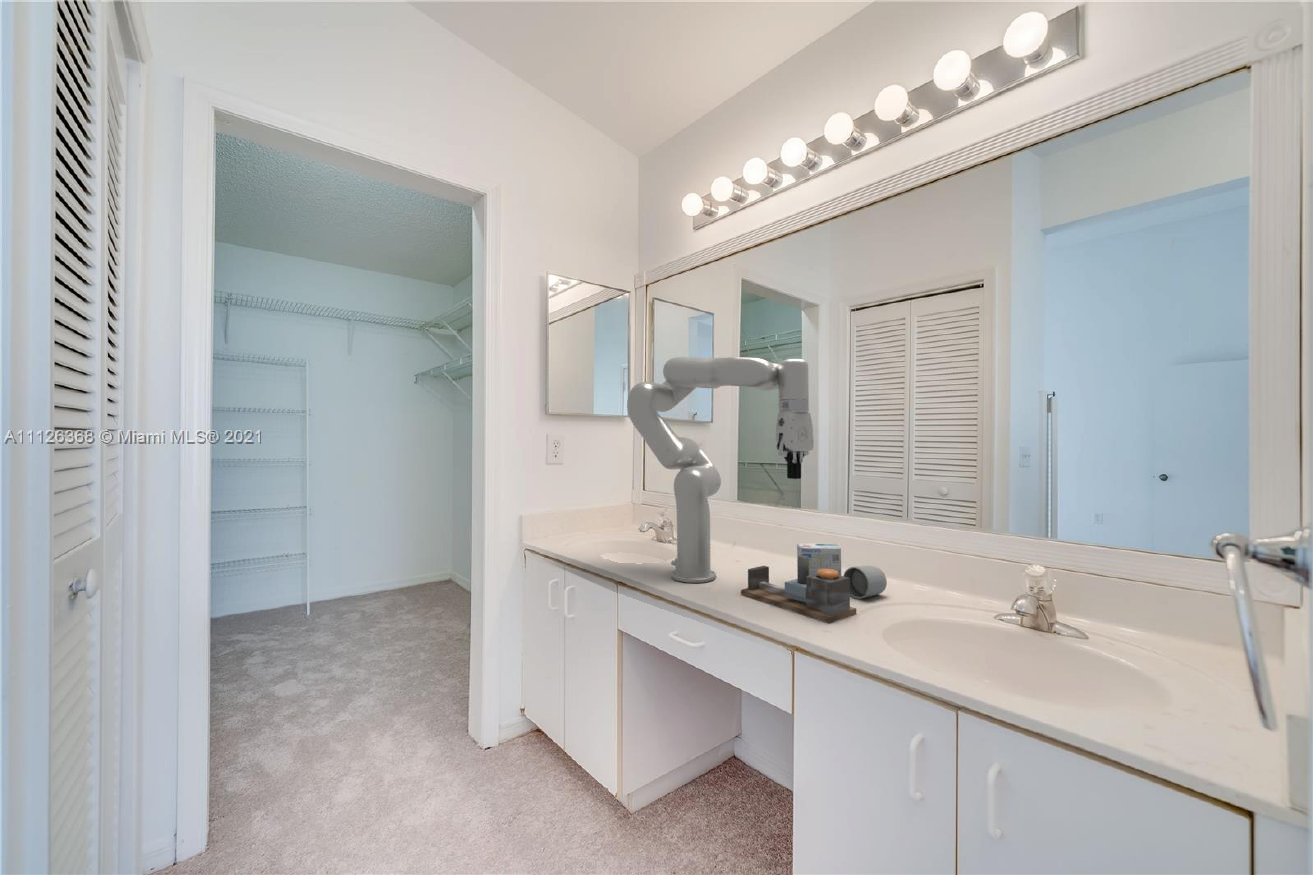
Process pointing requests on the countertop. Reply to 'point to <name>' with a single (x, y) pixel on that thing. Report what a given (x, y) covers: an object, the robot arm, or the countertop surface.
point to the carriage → (799, 580)
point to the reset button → (828, 574)
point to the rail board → (822, 595)
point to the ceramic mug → (865, 581)
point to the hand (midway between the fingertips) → (794, 478)
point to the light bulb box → (821, 556)
